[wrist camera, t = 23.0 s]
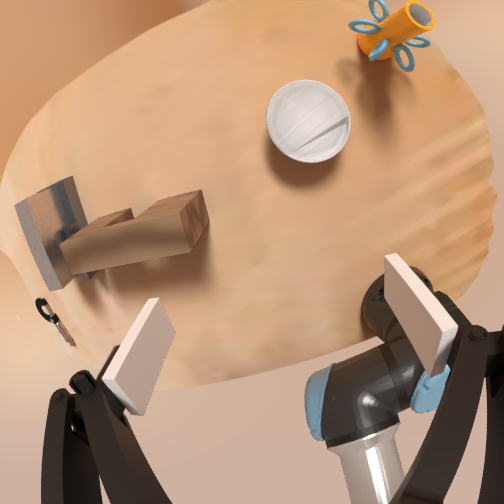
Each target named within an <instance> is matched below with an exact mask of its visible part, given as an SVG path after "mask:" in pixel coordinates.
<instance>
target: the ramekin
mask: <svg viewBox="0 0 504 504" xmlns="http://www.w3.org/2000/svg"><path fill="white" fill-rule="evenodd" d="M266 126H267V130H268V133H269V136H270V138H271V140H272V141H273V143H274V144H275V146H276V147H277V148H278V149H279V150H280V151H281V152H282V153H283V154H285V155H286V156H288V157H289V158H291V159H293V160H296V161H299V162H303V163H319V162H323V161H326V160H328V159H330V158H332V157H334V156H335V155H337V154H338V153H339V152H340V151H341V150H342V149H343V147H344V146H345V144H346V143H347V140H348V138H349V135H350V131H351V117H350V113H349V110H348V108H347V105H346V103H345V102H344V100H343V99H342V97H341V96H340V95H339V94H338V93H337V92H336V91H335V90H333V89H332V88H331V87H329V86H327V85H325V84H323V83H321V82H318V81H313V80H297V81H294V82H291V83H288V84H286V85H285V86H283V87H282V88H280V89H279V90H278V91H277V92H276V93H275V94H274V96H273V97H272V99H271V100H270V102H269V105H268V108H267V113H266Z"/></svg>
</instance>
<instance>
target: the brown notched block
mask: <svg viewBox="0 0 504 504" xmlns="http://www.w3.org/2000/svg"><path fill="white" fill-rule="evenodd" d="M208 222H209V217H208V213H207V209H206V205H205V202H204V198H203V194H202V190H198V191H193V192H189V193H185V194H181V195H177V196H173V197H169V198H165V199H162V200H159V201H157V202H156V203H155V204H153V205H152V206H151V207H149V208H148V209H147V210H145V211H144V212H143V213H141V214H140V215H139V216H137V217H136V218H135V219H134V217H133V214H132V211H131V208H129V209H126V210H122V211H119V212H116V213H112V214H109V215H106V216H103V217H100V218H98V219H96V220H94V221H93V222H91V223H90V224H88V225H87V226H85V227H84V228H82V229H81V230H80V231H78V232H77V233H75V234H74V235H72V236H71V237H69V238H68V239H67V240H65V241H64V242H62V243H61V244H60V248H61V250H62V253H63V255H64V258H65V260H66V262H67V265H68V267H69V269H70V271H71V273H72V275H75V274H80V273H85V272H90V271H95V270H100V269H105V268H110V267H116V266H121V265H126V264H131V263H136V262H142V261H147V260H152V259H157V258H163V257H168V256H173V255H179V254H184V253H190V252H191V251H192V250H193V248H194V246H195V244H196V243H197V241H198V239H199V237H200V235H201V234H202V232H203V230H204V229H205V227H206V225H207V223H208Z"/></svg>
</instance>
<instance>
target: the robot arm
mask: <svg viewBox="0 0 504 504" xmlns="http://www.w3.org/2000/svg"><path fill="white" fill-rule="evenodd" d="M362 315H363V318H364V320H365V322H366V325H367V326H368V328H369V329H370V330H371V331H372V332H373V333H374V334H375V335H377V336H378V337H379V338H380V339H381V340H382V341H383V342H385V343H384V344H381V345H379V346H377V347H375V348H372V349H370V350H368V351H366V352H364V353H361V354H359V355H356V356H354V357H352V358H349V359H347V360H344V361H342V362H339V363H333V364H331V365H330V366H329V367H327V368H324V369H322V370H320V371H317V372H315V373H313V374H312V375H311V376H310V377H309V379H308V381H307V384H306V388H305V411H306V418H307V423H308V426H309V428H310V431H311V434H312V436H313V438H314V439H315V440H320V441H324V440H325V441H326V445H327V449H328V450H329V451H331V452H333V453H335V454H337V455H339V456H340V459H341V463H342V467H343V471H344V475H345V479H346V483H347V487H348V491H349V495H350V500H351V504H443V500H444V498H445V496H446V494H447V492H448V489H449V487H450V485H451V483H452V481H453V479H454V476H455V474H456V472H457V469H458V467H459V464H460V462H461V459H462V456H463V454H464V451H465V448H466V445H467V442H468V439H469V436H470V433H471V430H472V427H473V423H474V420H475V416H476V413H477V409H478V405H479V400H480V396H481V391H482V386H483V381H484V378H485V377H486V390H487V440H486V452H485V463H484V470H483V477H482V484H481V489H480V494H479V499H478V504H504V325H503V327H502V330H501V331H496V332H487V330H486V329H485V328H483V327H481V326H479V325H472V324H471V323H470V322H469V320H468V319H467V318H466V317H465V316H464V314H463V313H462V312H461V311H460V310H459V308H457V306H456V305H455V304H454V303H453V301H452V300H451V299H450V298H449V297H448V296H447V295H446V294H444V293H442V292H440V291H437V292H434V290H433V287H432V284H431V282H430V280H429V279H428V278H427V276H426V275H425V274H424V273H423V272H422V271H421V270H419V269H417V268H415V267H411V266H408V265H407V264H406V263H405V262H404V261H403V260H402V259H401V258H400V257H399V255H398V254H397V253H394V254H390V255H385V256H384V274H383V275H382V276H380V277H379V278H378V279H377V280H376V281H375V282H374V283H373V284H372V285H371V286H370V288H369V289H368V291H367V293H366V295H365V297H364V300H363V303H362ZM175 333H176V332H175V330H174V328H173V326H172V324H171V322H170V319H169V317H168V315H167V313H166V311H165V309H164V307H163V304H162V302H161V300H160V298H159V297H158V298H151V299H148V301H147V302H146V304H145V306H144V307H143V309H142V310H141V312H140V314H139V315H138V317H137V319H136V320H135V322H134V323H133V325H132V327H131V328H130V330H129V332H128V333H127V335H126V337H125V339H124V340H123V342H122V344H121V345H118V346H117V347H116V348H115V349H114V350H113V351H112V353H111V354H110V356H109V358H108V359H107V361H106V363H105V365H104V366H103V368H102V370H101V372H100V373H99V375H98V377H97V379H96V380H95V379H94V378H93V376H92V375H91V374H90V372H89V371H87V370H81V371H79V372H77V373H76V374H74V375H73V376H72V377H71V379H70V381H69V385H70V386H71V388H72V389H73V390H74V391H75V392H76V394H70V393H69V392H68V391H67V389H65V388H61V389H58V390H56V391H55V392H54V393H53V395H52V396H51V399H50V403H49V409H48V415H47V422H46V428H45V436H44V446H43V457H42V472H41V474H42V475H41V504H103V503H102V496H101V489H100V481H99V475H100V478H101V481H102V483H103V486H104V488H105V491H106V493H107V496H108V498H109V501H110V503H111V504H172V503H171V501H170V499H169V498H168V497H167V495H166V493H165V491H164V490H163V488H162V486H161V485H160V483H159V481H158V480H157V478H156V476H155V475H154V473H153V471H152V469H151V467H150V465H149V464H148V462H147V460H146V458H145V456H144V454H143V452H142V450H141V448H140V446H139V444H138V442H137V440H136V438H135V435H134V434H133V431H132V429H131V427H130V424H129V422H128V420H127V417H126V416H125V415H124V414H123V412H124V410H125V408H126V409H127V410H128V412H129V413H131V415H141V416H143V415H144V413H145V410H146V408H147V405H148V402H149V400H150V397H151V394H152V392H153V389H154V386H155V384H156V381H157V379H158V376H159V373H160V371H161V368H162V366H163V363H164V361H165V358H166V356H167V353H168V351H169V348H170V346H171V343H172V341H173V338H174V336H175ZM409 407H411V409H412V410H414V411H415V412H416V413H424V412H429V411H432V410H434V409H436V408H437V410H436V413H435V416H434V418H433V421H432V423H431V426H430V428H429V430H428V433H427V435H426V437H425V439H424V441H423V444H422V446H421V448H420V450H419V452H418V454H417V456H416V458H415V460H414V462H413V464H412V466H411V467H410V469H409V471H408V473H407V475H406V477H404V473H403V469H402V465H401V461H400V457H399V453H398V450H397V446H396V442H395V439H394V436H395V433H396V431H397V429H398V427H399V425H400V420H399V417H398V413H399V412H401V411H403V410H405V409H407V408H409ZM71 425H72V426H73V431H72V427H71Z"/></svg>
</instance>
